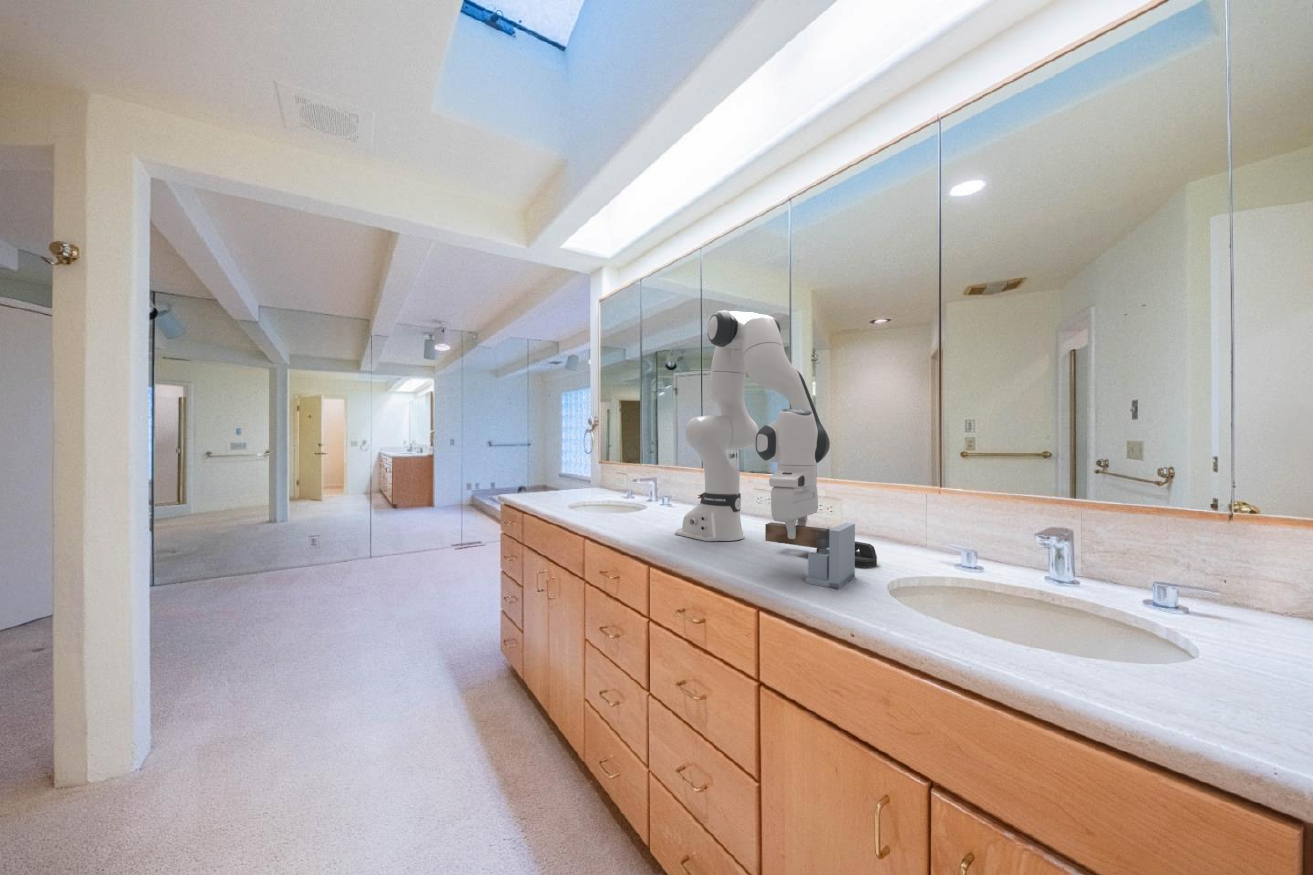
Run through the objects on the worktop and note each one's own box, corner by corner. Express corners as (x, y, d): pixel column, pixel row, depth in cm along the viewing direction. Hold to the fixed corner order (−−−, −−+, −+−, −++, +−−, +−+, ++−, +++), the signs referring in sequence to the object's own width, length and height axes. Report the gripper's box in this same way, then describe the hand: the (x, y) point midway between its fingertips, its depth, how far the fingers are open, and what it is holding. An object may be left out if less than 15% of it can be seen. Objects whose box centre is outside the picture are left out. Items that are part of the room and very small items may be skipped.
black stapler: (791, 524, 134) (881, 537, 117) (791, 547, 134) (881, 563, 116) (775, 528, 128) (868, 542, 110) (775, 552, 128) (868, 570, 110)
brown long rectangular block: (765, 540, 110) (765, 524, 110) (771, 538, 112) (771, 522, 112) (824, 549, 101) (824, 531, 101) (829, 546, 104) (829, 528, 104)
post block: (805, 582, 99) (805, 527, 99) (823, 570, 109) (823, 520, 109) (838, 589, 95) (839, 531, 95) (854, 576, 104) (854, 523, 105)
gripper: (799, 474, 117) (799, 529, 117) (765, 478, 101) (765, 541, 101) (824, 476, 113) (824, 532, 113) (793, 480, 97) (793, 545, 97)
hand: (796, 536), depth 107 cm, fingers closed on brown long rectangular block, 3 cm apart
